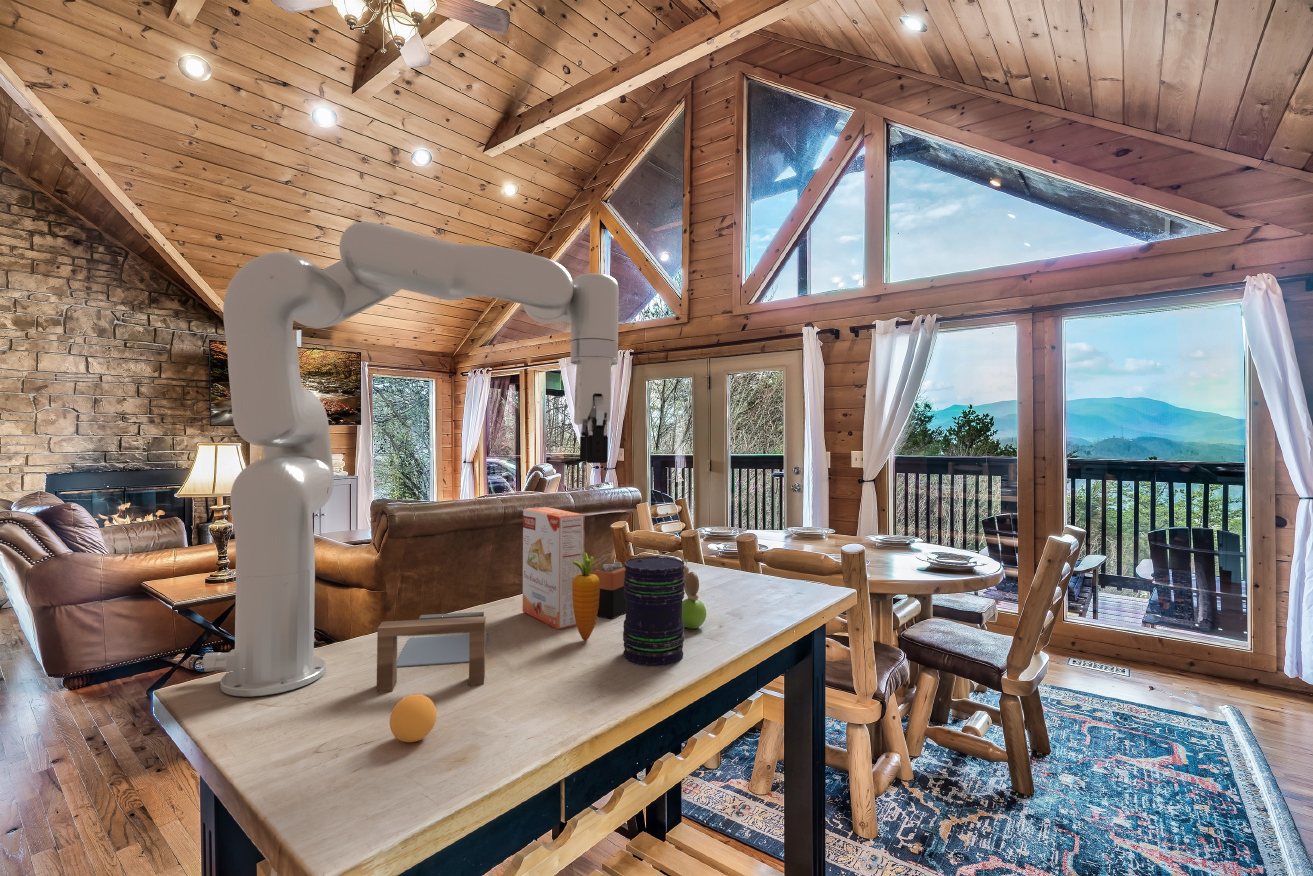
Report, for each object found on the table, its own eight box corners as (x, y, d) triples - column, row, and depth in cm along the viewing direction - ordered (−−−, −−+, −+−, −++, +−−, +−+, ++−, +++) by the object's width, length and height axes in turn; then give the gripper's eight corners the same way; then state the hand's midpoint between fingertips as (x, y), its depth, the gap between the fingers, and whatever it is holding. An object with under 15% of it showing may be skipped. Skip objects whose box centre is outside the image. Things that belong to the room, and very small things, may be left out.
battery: (593, 616, 117) (594, 565, 117) (612, 608, 123) (613, 559, 123) (612, 620, 115) (612, 568, 115) (630, 611, 121) (631, 562, 121)
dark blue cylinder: (695, 653, 98) (696, 561, 98) (662, 672, 90) (663, 572, 90) (645, 641, 103) (646, 554, 104) (610, 657, 95) (611, 563, 95)
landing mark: (393, 667, 90) (394, 666, 90) (409, 639, 103) (409, 638, 103) (483, 661, 93) (483, 660, 93) (487, 634, 106) (487, 633, 106)
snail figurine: (696, 620, 115) (697, 558, 116) (711, 630, 110) (712, 565, 110) (670, 623, 114) (671, 560, 114) (684, 633, 108) (684, 567, 108)
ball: (385, 753, 66) (385, 707, 66) (394, 731, 71) (394, 689, 71) (433, 748, 67) (433, 703, 67) (438, 727, 72) (439, 685, 72)
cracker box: (520, 613, 119) (521, 508, 119) (546, 607, 123) (548, 506, 123) (556, 630, 108) (558, 515, 108) (584, 624, 112) (586, 513, 112)
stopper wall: (418, 632, 106) (419, 618, 106) (420, 628, 108) (420, 615, 108) (483, 628, 109) (483, 615, 109) (483, 625, 111) (483, 611, 111)
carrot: (594, 646, 100) (595, 557, 100) (566, 644, 101) (567, 555, 101) (603, 637, 105) (604, 551, 105) (576, 635, 106) (577, 550, 106)
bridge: (483, 684, 84) (484, 622, 84) (376, 692, 81) (377, 628, 81) (484, 676, 87) (485, 616, 87) (381, 683, 84) (382, 621, 84)
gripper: (566, 360, 103) (565, 459, 103) (575, 344, 86) (574, 463, 86) (609, 361, 105) (608, 459, 105) (627, 347, 88) (625, 464, 88)
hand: (593, 461), depth 95 cm, fingers open, 9 cm apart
